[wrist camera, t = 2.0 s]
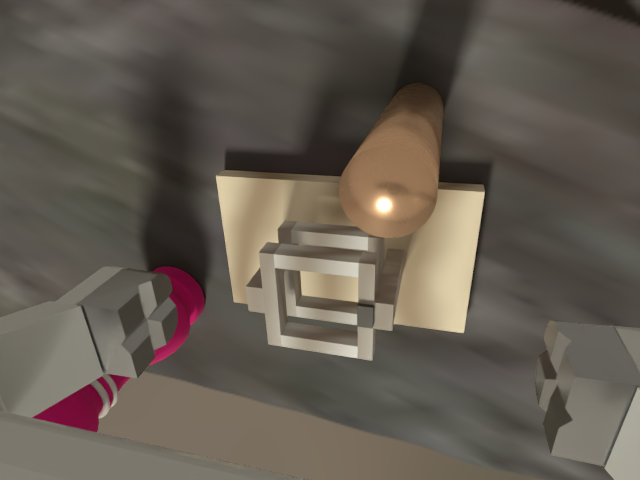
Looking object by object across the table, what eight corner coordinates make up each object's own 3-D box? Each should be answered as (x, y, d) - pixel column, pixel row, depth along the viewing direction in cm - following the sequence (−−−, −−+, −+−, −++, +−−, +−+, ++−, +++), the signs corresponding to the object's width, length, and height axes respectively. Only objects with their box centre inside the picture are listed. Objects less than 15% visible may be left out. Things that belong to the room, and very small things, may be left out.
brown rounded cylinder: (446, 82, 29) (442, 147, 15) (440, 140, 30) (432, 246, 17) (390, 82, 29) (338, 143, 16) (388, 138, 31) (339, 238, 17)
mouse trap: (483, 184, 31) (494, 242, 23) (463, 321, 36) (466, 405, 29) (224, 169, 36) (161, 213, 28) (240, 293, 41) (191, 358, 33)
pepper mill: (132, 266, 43) (-78, 433, 26) (192, 256, 41) (3, 433, 23) (162, 325, 46) (-9, 512, 29) (221, 319, 43) (70, 520, 26)
